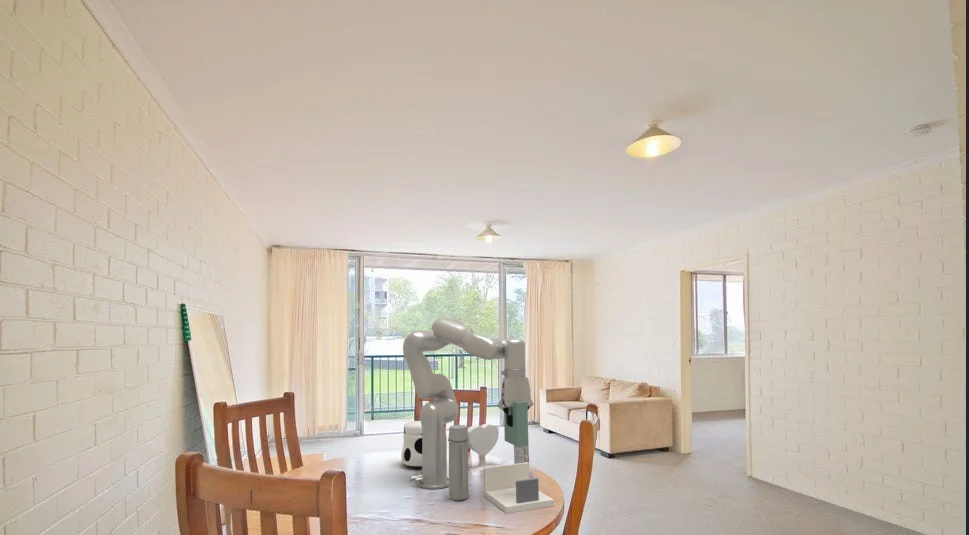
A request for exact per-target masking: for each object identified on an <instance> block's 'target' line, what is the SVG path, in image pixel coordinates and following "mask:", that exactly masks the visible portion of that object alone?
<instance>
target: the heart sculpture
mask: <svg viewBox="0 0 969 535" xmlns="http://www.w3.org/2000/svg"><path fill="white" fill-rule="evenodd" d="M467 430H468V439H469V440H470V442H469V440H468V442H469V443H468V449H471V451H472V452H474V453H477V454H478V455H479V466H478V465H477V466H474V467H470V468H469V467H468V469H469V470H472V471H471V472H474V471H475V472H478V471H484V468H486V467H494V466H496V465H494V464H486V456H487V455H488V453H490V451H492V450H493V449H494V448H495V447H496V444H497V442H498V440H499V433H500V431H499V427H498V426H496V425H494V424H490V423H483V424H481V425H476V424H475V425H472V426H469V427H467ZM469 470H468V471H469Z"/></svg>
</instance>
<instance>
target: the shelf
mask: <svg viewBox="0 0 969 535" xmlns="http://www.w3.org/2000/svg"><path fill="white" fill-rule="evenodd" d="M539 487H540V486H539V478H538V477H535V478H531V477H530V462H529V463H528V462H526V463H518V464H514V463H512V464H511V463H510V464H504V465H495V466H494V467H486V468H484V470H483V497H484V498H485V497H486V500H488V501H489V500H490V501H489V502H491V503H492V504H493V505H495V506H496V507H497V508H498V509H500V511H502V510H503V512H504V514H506V513H507V514H512V512H513V513H518V512H524V511H530V509H531V510H536V508H537V509H541V508H542V509H543V508H549V507H555V500H554V499H553V498H552V497H550V496H548V495H547V494H545V493H544V492H542V491H540V489H539Z"/></svg>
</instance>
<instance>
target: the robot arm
mask: <svg viewBox="0 0 969 535" xmlns="http://www.w3.org/2000/svg"><path fill="white" fill-rule="evenodd" d="M450 344H452V345H454V346H457V347H459V348H461V349H462V350H464V351H465V352H466V353H467V354H470V355H471V356H473V357H477V358H479V359H482V360H486V361H491V360H493V361H494V360H500V359H504V369H503V370H502V371H501V375H502V376H504V377H503V379H502V383H501V390H500V391H501V394H500V401H499V402H498V404H497V408H498V409H500V410H501V411H502V412H503V413H504V412H505V414H506V420H507V425H508V426H510V427H512V426H513V416H512V415H511V413H512V407H514V402H518V401H526V402H528V410H529V409H531V408H532V406H534V402H533V401H532V397H531V396H532V395H531V386H530V381H529V377H527V375H526V372H527V370H526V342H525V341H524V340H523V339H520V338H516V339H515V338H513V339H506V338H500V337H499V338H486V337H482V336H479V335H477V334H475V333H474V330H473V328H472V327H471V326H468V325H465V324H464V323H463V322H462V321H461V320H460V319H458V318H455V317H441V318H437V319H436V320H435V321H434V322H433V323H432V324H431V330H417V331H413V332H411V333H409V334H408V335H407V336H406V338H404V342H403V346H402V352H403V357H404V360H405V362H406V364H407V366H408V369H409V372H410V376H411V380H412V382H413V385H414V389H415V392H416V394H417V396H418V398H419V399H421V400H430V399H434V400H432V401H429V402H427V403H425V404H424V405H423V406H422V407H421V409H420V412H419V421H421V426H422V468H421V469H422V471H420V473H419V474H417V475H410V476H409V480H410V482H415V483H417V484H418V486H419V487H420V488H423V489H427V490H437V489H443V488H447V487H449V477H448V475H447V473H448V472H447V470H448V468H447V467H448V465H447V464H448V460H447V459H448V456H447V453H448V450H447V449H448V448H447V447H448V446H447V445H448V439H447V438H448V437H447V432H446V429H445V427H444V425H445V424H450V423H453V422H455V420H456V419H457V418H458V416H459V405H458V401H457V399H456V395H455V393H454V389H453V386H452V384H451V381H450V380H449V379H448V377H447V376H446V375H445V374H443V373H434V371H433V370H432V366H431V363H430V361H429V360H428V358H427V357H426V355H425V354H424V352H436V351H439V350H441V349H443V348H445V347H446V346H448V345H450ZM504 405H506V408H505V407H504Z"/></svg>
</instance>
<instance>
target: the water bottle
mask: <svg viewBox="0 0 969 535" xmlns="http://www.w3.org/2000/svg"><path fill="white" fill-rule="evenodd" d="M467 429H468V426H467V425H466V424H456V425H455V424H454V425H450V426H449V428H448V437H447V438H448V439H447V443H448V479H449V486H448V497H449V499H450V500H452V501H455V500H456V501H458V502H459V501H460V500H462V501H466V500H467V499H468V498H469V486H470V485H469V470H468V469H469V447H468V443H469V442H470V440H469V439H468V430H467ZM468 440H469V442H468Z"/></svg>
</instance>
